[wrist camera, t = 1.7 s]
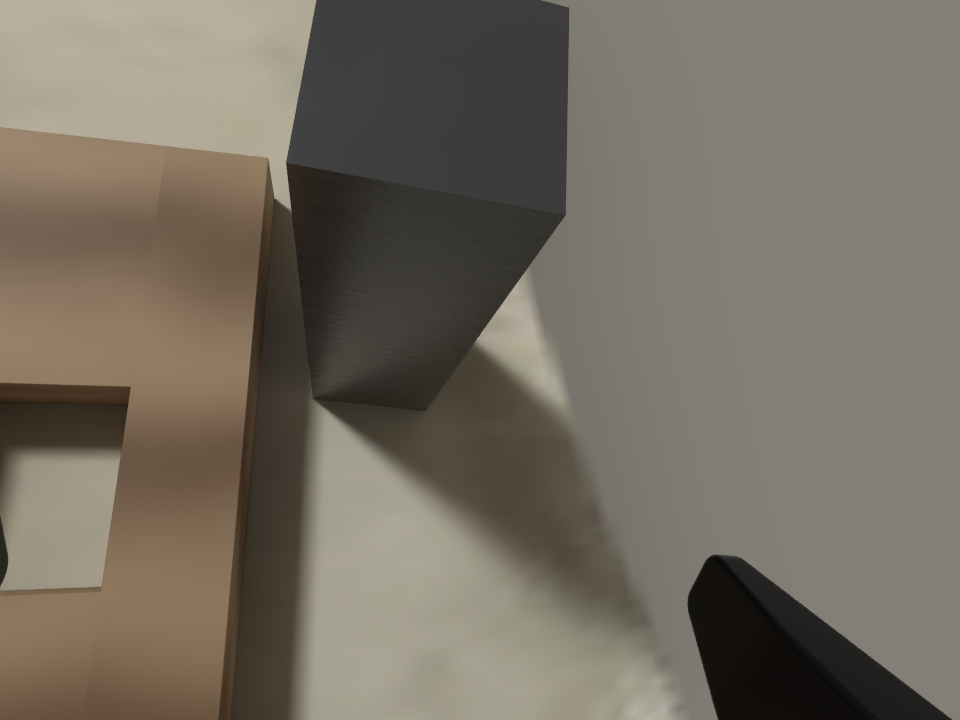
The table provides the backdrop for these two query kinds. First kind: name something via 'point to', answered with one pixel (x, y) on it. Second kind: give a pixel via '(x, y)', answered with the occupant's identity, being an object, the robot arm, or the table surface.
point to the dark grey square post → (421, 182)
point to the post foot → (137, 410)
